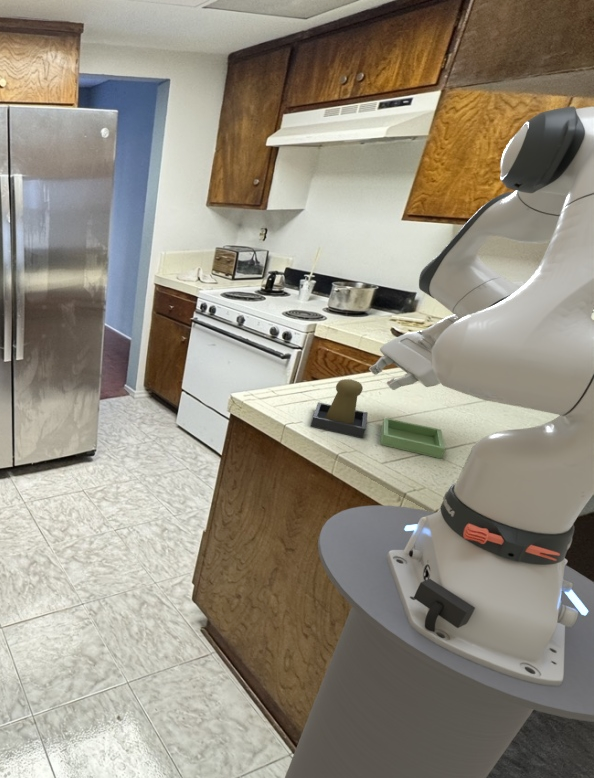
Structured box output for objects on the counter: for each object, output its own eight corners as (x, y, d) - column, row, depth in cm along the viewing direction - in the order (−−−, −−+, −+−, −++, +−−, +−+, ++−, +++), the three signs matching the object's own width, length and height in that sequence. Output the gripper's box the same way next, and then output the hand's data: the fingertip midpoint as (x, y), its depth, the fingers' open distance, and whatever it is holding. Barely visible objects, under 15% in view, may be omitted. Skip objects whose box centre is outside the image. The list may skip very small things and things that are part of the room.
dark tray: (362, 438, 110) (365, 429, 109) (310, 426, 116) (313, 417, 115) (364, 421, 117) (367, 412, 116) (315, 410, 123) (318, 402, 122)
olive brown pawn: (348, 417, 118) (360, 377, 114) (357, 428, 113) (370, 387, 108) (321, 415, 120) (332, 375, 115) (329, 426, 114) (341, 384, 110)
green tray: (440, 458, 101) (445, 448, 100) (380, 444, 107) (383, 434, 106) (437, 438, 109) (441, 429, 108) (381, 426, 115) (384, 417, 114)
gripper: (412, 319, 112) (354, 354, 119) (463, 345, 94) (392, 386, 101) (427, 338, 113) (369, 372, 119) (481, 368, 95) (409, 406, 101)
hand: (380, 379), depth 110 cm, fingers open, 8 cm apart
